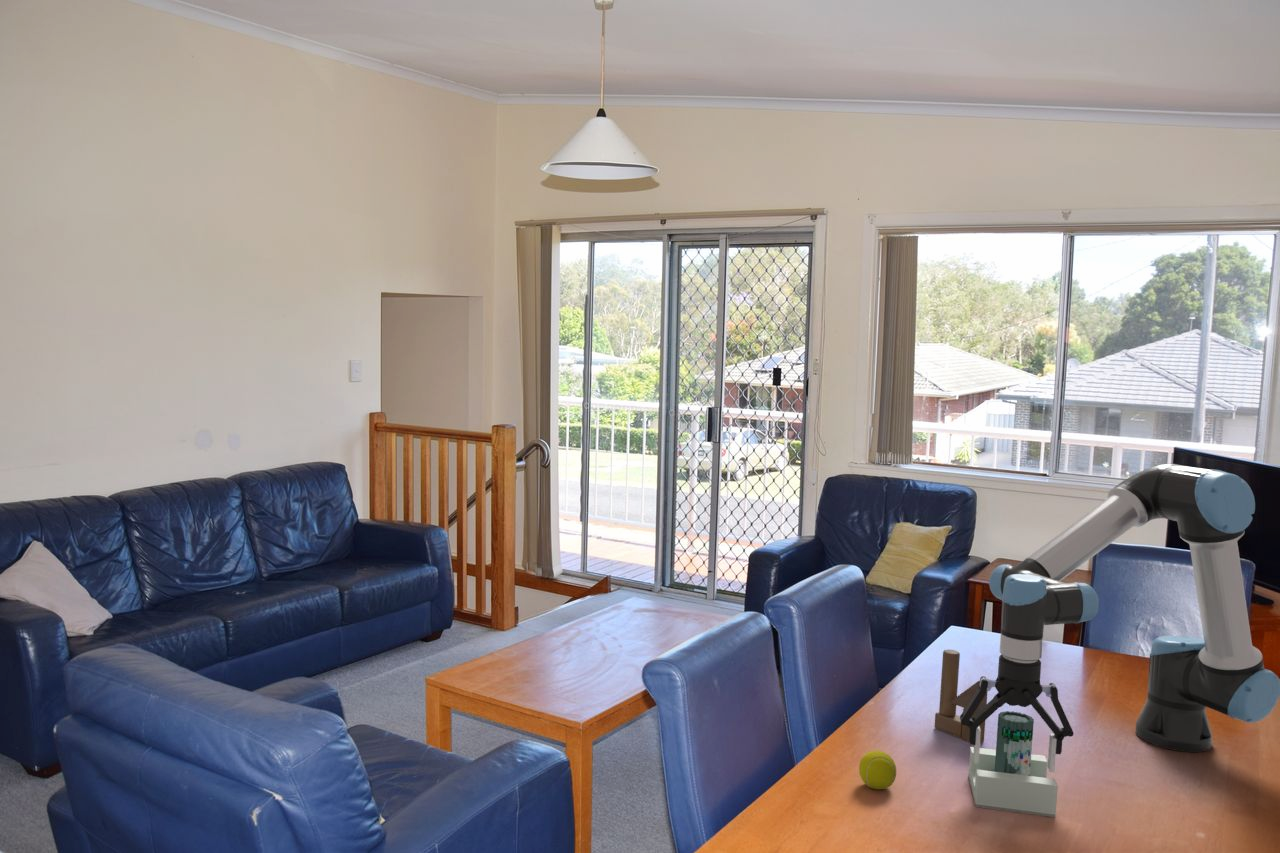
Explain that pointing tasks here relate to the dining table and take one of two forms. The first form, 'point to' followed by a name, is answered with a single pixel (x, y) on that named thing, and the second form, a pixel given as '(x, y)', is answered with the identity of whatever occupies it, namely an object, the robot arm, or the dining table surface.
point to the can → (1014, 743)
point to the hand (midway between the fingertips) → (1013, 765)
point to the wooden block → (955, 699)
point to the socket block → (1012, 786)
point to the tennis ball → (877, 770)
